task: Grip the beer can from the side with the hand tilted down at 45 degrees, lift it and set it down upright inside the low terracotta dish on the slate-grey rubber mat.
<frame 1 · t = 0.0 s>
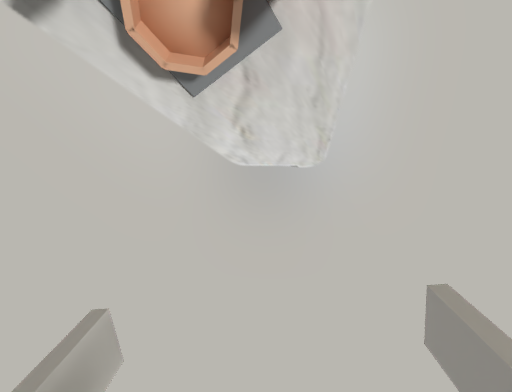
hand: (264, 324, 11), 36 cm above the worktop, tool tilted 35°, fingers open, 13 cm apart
dish: (187, 4, 32), resting on mat
mat: (187, 3, 32), on the worktop
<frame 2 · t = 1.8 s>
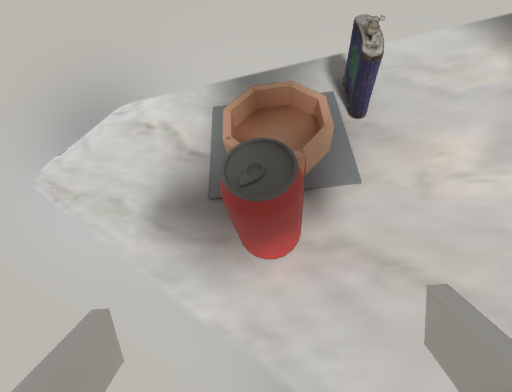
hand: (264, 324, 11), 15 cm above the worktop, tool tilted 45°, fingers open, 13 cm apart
flask: (354, 98, 38), on the worktop
dish: (277, 139, 35), resting on mat
mat: (277, 141, 35), on the worktop
beer can: (270, 232, 29), on the worktop
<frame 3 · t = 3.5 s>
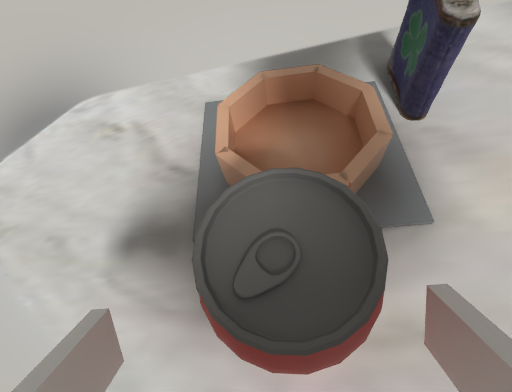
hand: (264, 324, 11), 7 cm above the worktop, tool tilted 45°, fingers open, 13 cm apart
flask: (405, 90, 27), on the worktop
dish: (296, 150, 24), resting on mat
mat: (296, 152, 24), on the worktop
beer can: (289, 305, 18), on the worktop
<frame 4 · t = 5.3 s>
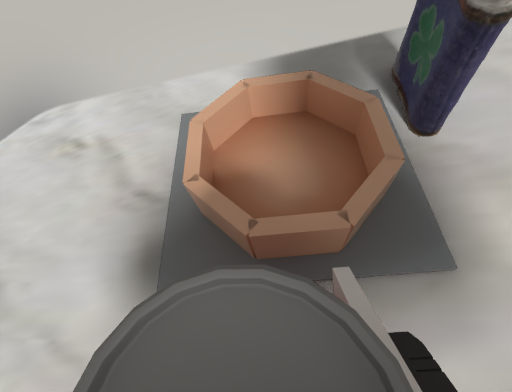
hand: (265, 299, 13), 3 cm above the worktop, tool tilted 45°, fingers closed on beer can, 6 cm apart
flask: (413, 100, 23), on the worktop
dish: (286, 172, 20), resting on mat
mat: (286, 175, 20), on the worktop
beer can: (275, 382, 14), on the worktop, touching gripper
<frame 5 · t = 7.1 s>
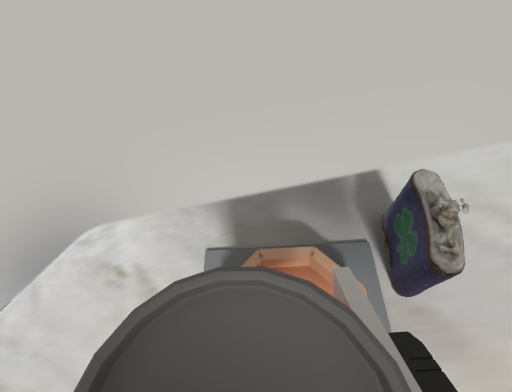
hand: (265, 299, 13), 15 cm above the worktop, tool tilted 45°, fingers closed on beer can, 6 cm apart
flask: (398, 253, 28), on the worktop
dish: (291, 326, 25), resting on mat
mat: (291, 327, 25), on the worktop
beer can: (275, 383, 14), point 11 cm above the worktop, touching gripper
when the fingers open (6 cm above the worktop, at t = 9.4 s): beer can drops 1 cm, resting on dish.
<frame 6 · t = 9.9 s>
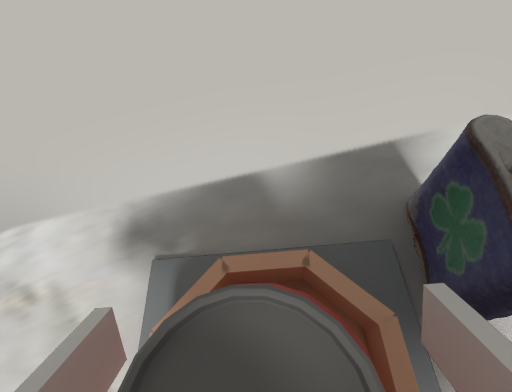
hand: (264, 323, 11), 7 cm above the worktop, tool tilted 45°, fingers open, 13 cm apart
flask: (434, 255, 19), on the worktop
dish: (277, 378, 16), resting on mat
mat: (277, 378, 16), on the worktop
beer can: (277, 381, 15), point 1 cm above the worktop, touching dish
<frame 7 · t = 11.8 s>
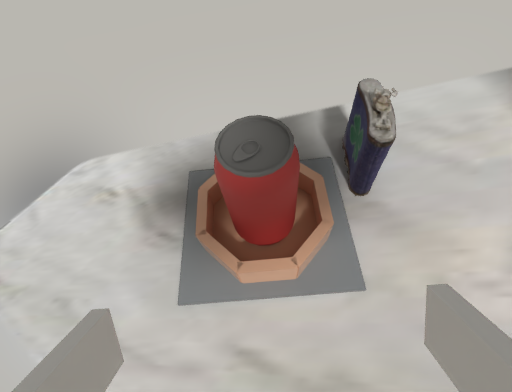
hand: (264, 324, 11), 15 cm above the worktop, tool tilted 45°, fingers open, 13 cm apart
flask: (355, 165, 33), on the worktop
dish: (264, 221, 29), resting on mat
mat: (264, 223, 30), on the worktop
beer can: (264, 219, 29), point 1 cm above the worktop, touching dish
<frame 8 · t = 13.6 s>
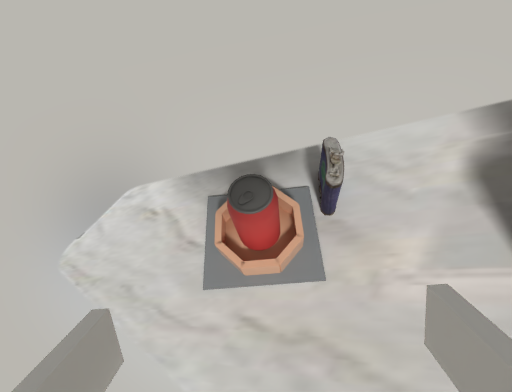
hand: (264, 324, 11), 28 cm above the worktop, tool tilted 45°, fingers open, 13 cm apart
flask: (326, 192, 46), on the worktop
dish: (260, 233, 42), resting on mat
mat: (260, 234, 43), on the worktop
beer can: (260, 232, 42), point 1 cm above the worktop, touching dish
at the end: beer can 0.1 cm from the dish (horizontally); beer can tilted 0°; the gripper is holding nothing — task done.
